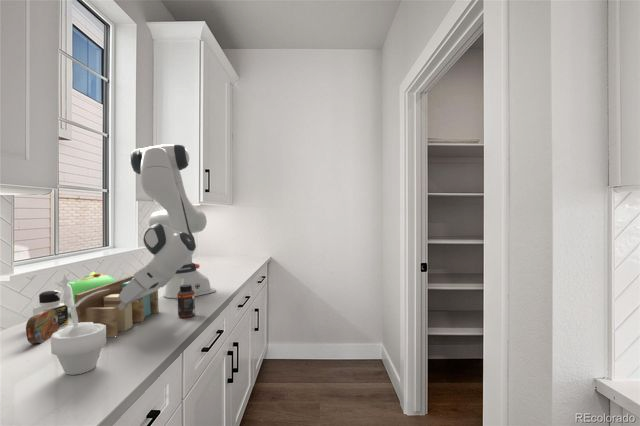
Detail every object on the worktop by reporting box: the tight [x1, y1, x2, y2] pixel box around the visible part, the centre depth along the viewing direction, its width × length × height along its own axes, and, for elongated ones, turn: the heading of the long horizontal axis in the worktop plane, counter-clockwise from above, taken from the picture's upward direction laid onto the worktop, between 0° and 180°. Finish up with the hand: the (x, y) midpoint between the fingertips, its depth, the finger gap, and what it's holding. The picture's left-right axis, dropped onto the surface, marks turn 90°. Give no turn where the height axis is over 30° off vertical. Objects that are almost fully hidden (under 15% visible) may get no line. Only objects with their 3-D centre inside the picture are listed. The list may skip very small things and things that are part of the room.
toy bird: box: [58, 271, 117, 305], centre depth 147 cm, size 18×17×15 cm
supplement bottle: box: [176, 284, 196, 319], centre depth 134 cm, size 6×6×11 cm
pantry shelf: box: [75, 275, 159, 338], centre depth 126 cm, size 10×30×14 cm, turn 177°
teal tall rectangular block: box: [122, 281, 152, 318], centre depth 135 cm, size 6×7×13 cm
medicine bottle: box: [32, 289, 69, 327], centre depth 127 cm, size 7×7×12 cm
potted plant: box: [50, 273, 109, 376], centre depth 91 cm, size 13×12×25 cm
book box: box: [104, 294, 133, 331], centre depth 122 cm, size 7×4×11 cm, turn 86°
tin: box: [25, 308, 60, 345], centre depth 114 cm, size 15×3×8 cm, turn 12°
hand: (129, 303), depth 122 cm, fingers open, 8 cm apart
